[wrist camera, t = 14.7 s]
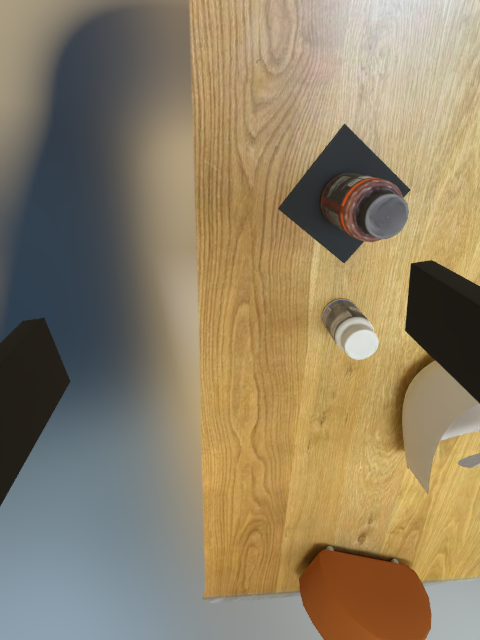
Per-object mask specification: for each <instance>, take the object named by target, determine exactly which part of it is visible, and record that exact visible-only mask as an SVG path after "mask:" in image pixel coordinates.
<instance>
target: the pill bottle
mask: <svg viewBox="0 0 480 640" xmlns="http://www.w3.org/2000/svg"><path fill="white" fill-rule="evenodd" d="M322 319H323V323H324V325H325V327H326V328H327V329H328V331H329V333H330V334H331V336H332V338H333V339H334V341H335V343H336V344H337V345H338V347H339V348H340V349H342V350H343V351H345V352H346V354H347V355H348V356H349V357H351V358H353V359H358V360H359V359H365V358H368V357H369V356H371V355H372V354H373V353H374V352H375V351H376V350H377V348H378V344H379V340H378V337H377V335H376V333H375V332H374V329H373V326H372V324H371V323H370V322H369V320H368V319H367V318H366V317H365V316H364V315H363V314H362V312H361V311H360V310H359V309H358V308H357V307H356V306H355V305H354V304H353V303H352V302H351V301H349V300H347V299H337V300H334V301H332V302H331V303H329V304H328V305H327V306H326V307H325V309H324V311H323V315H322Z"/></svg>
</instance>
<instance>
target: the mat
mask: <svg viewBox="0 0 480 640" xmlns="http://www.w3.org/2000/svg"><path fill="white" fill-rule="evenodd" d="M343 173H356V174H361V175H366V176H370V177H375V178H380V179H384V180H387V181H390V182H391V183H393V184H394V185H396V186H397V187H398V189H399V190H400V192H401V193H402V195H403V198H404V196H405V195H406V194H407V193H408V192H409V191H410V189H409V188H408V187H407V186H406V185H405V184H404V183H403V182H402V181H401V180H400V179H399V178H398V177H397V176H396V175H395V174H394V173H393V172H392V171H391V170H390V169H389V168H388V167H387V166H386V165H385V164H384V163H383V162H382V161H381V160H380V159H379V158H378V157H377V156H376V155H375V154H374V153H373V152H372V151H371V150H370V149H369V148H368V147H367V146H366V145H365V144H364V143H363V142H362V141H361V140H360V139H359V138H358V137H357V136H356V135H355V134H354V133H353V132H352V131H351V130H350V129H349V128H348V127H347V126H346V125H345V124H344V125H343V127H342V128H341V129H340V131H339V132H338V133H337V134H336V136H335V137H334V138H333V140H332V141H331V142H330V143H329V145H328V146H327V147H326V148H325V150H324V151H323V152H322V154H321V155H320V156H319V157H318V159H317V160H316V161H315V162H314V164H313V165H312V166H311V168H310V169H309V170H308V171H307V173H306V174H305V175H304V176H303V178H302V179H301V180H300V182H299V183H298V184H297V185H296V187H295V188H294V189H293V191H292V192H291V193H290V194H289V196H288V197H287V198H286V199H285V201H284V202H283V203H282V205H281V206H280V207H279V208H278V209H279V210H281V211H282V212H283V213H284V214H285V215H287V216H288V217H289V218H290V219H291V220H293V221H294V222H295V223H296V224H298V225H299V226H300V227H301V228H302V229H304V230H305V231H306V232H307V233H308V234H310V235H311V236H312V237H313V238H314V239H316V240H317V241H318V242H319V243H321V244H322V245H323V246H324V247H325V248H327V249H328V250H329V251H330V252H331V253H333V254H334V255H335V256H336V257H337V258H339V259H340V260H341V261H342V262H344V263H345V262H346V261H347V260H348V259H349V257H350V256H351V255H352V254H353V253H354V252H355V251H356V250H357V249H358V247H359V246H360V245H361V244H362V243H363V242H364V241H360V240H358V239H355V238H354V237H352V236H350V235H349V234H347V233H346V232H344V231H343V230H341V229H339V228H338V227H336V226H335V225H333V224H332V223H330V222H329V221H328V220H327V219H326V218H325V216H324V215H323V212H322V209H321V197H322V193H323V190H324V188H325V187H326V185H327V184H328V183H329V182H330V181H331V180H332V179H333V178H335V177H336V176H338V175H341V174H343Z"/></svg>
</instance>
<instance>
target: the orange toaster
mask: <svg viewBox="0 0 480 640" xmlns="http://www.w3.org/2000/svg"><path fill="white" fill-rule="evenodd" d="M299 584H300V593H301V597H302V601H303V606H304V607H305V609H306V611H307V613H308V615H309V617H310V619H311V621H312V623H313V624H314V626H315V627H316V629H317V630H318V632H319V633H320V634H321V636H322V637H323V639H324V640H425V639H426V637H427V635H428V633H429V631H430V629H431V609H430V603H429V597H428V595H427V593H426V591H425V588H424V586H423V584H422V582H421V580H420V579H419V577H418V576H417V574H416V572H415V571H414V570H412V569H411V568H410V567H409V566H406V565H402V564H399V562H398V560H397V559H394V558H393V559H392V560H391V561H390V562H388V561H383V560H378V559H372V558H367V557H362V556H357V555H352V554H347V553H342V552H337V551H334V549H333V547H332V546H328V547H327V548H326V549H325V550H324V549H323V550H322V551H321V552H320V553H319V554H318V555H317V556H316V557H315V558H314V560H313V561H312V562H311V564H310V565H309V566H308V567H307V569H306V570H305V571H304V573H303V574H302V575H301V576H300V578H299Z"/></svg>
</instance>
